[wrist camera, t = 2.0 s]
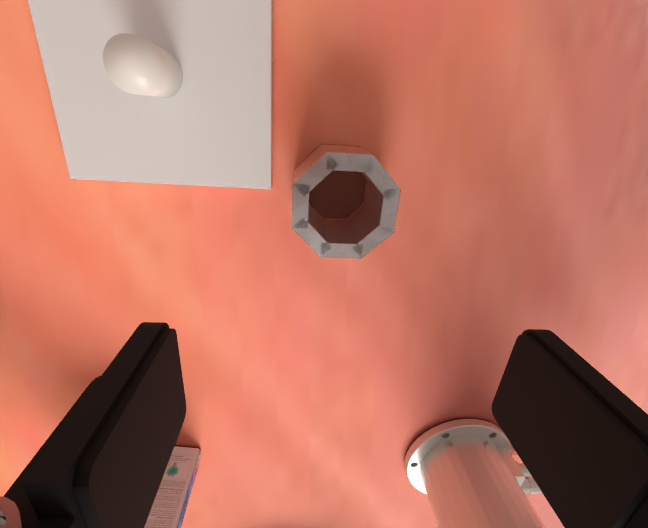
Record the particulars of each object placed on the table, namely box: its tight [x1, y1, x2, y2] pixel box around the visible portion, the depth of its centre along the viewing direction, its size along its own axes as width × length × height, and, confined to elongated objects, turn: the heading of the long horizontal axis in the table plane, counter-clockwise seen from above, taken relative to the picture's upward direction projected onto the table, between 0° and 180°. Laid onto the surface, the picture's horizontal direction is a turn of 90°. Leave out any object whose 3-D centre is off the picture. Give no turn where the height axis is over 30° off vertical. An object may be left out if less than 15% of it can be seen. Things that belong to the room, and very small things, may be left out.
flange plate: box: [28, 0, 272, 189], centre depth 20 cm, size 14×14×5 cm
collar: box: [292, 144, 401, 259], centre depth 23 cm, size 7×7×6 cm
